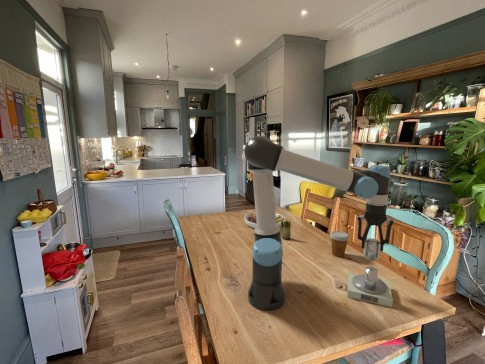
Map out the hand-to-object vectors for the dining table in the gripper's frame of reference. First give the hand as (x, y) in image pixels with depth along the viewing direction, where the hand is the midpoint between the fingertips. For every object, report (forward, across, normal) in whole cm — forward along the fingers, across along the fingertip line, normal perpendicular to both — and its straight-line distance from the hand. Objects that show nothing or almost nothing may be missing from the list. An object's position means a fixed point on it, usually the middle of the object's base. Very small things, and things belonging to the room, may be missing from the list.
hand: (371, 256), depth 109 cm
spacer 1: (+1, 0, 0) cm, 1 cm away
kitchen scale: (+14, 0, +4) cm, 15 cm away
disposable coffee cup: (+15, +14, -27) cm, 34 cm away
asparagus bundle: (+15, +46, -37) cm, 61 cm away
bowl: (+15, +67, -58) cm, 90 cm away
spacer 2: (+10, 0, +7) cm, 12 cm away
